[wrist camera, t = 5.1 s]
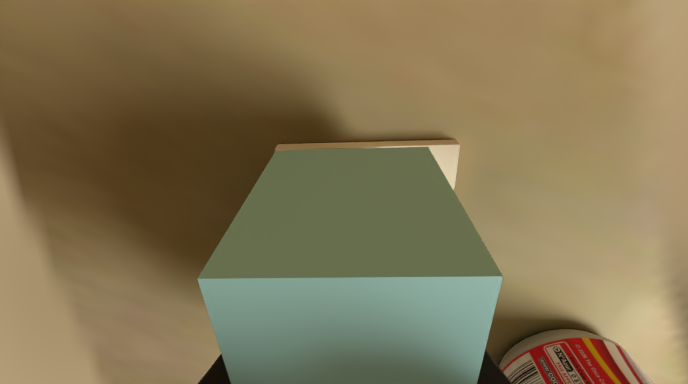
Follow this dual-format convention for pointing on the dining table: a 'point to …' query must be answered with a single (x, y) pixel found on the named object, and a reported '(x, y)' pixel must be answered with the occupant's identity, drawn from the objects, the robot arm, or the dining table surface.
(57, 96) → the dining table surface
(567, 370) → the soda can
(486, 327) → the block
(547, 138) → the dining table surface
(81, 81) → the dining table surface
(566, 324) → the dining table surface
